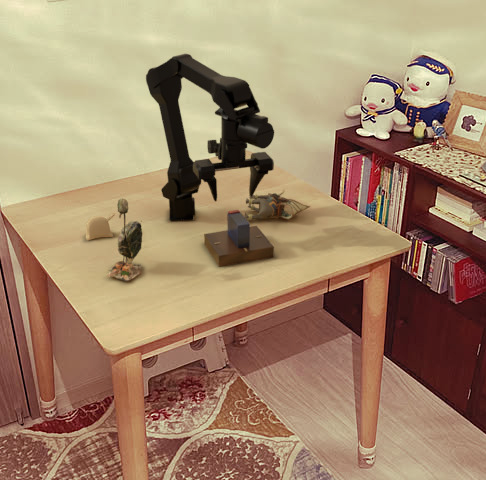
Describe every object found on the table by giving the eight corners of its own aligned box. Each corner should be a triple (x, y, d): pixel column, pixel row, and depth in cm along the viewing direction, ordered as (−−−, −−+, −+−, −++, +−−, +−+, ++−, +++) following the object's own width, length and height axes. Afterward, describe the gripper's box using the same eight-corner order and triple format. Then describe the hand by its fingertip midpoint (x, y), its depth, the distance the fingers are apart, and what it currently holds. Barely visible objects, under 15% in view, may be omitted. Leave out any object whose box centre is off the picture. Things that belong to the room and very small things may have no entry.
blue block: (249, 246, 173) (249, 222, 170) (237, 248, 173) (238, 224, 169) (238, 232, 180) (238, 209, 176) (227, 233, 179) (227, 211, 176)
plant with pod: (156, 266, 173) (150, 188, 161) (124, 286, 165) (117, 206, 154) (130, 256, 177) (123, 180, 165) (98, 276, 169) (89, 198, 158)
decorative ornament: (84, 234, 187) (81, 215, 184) (116, 229, 189) (114, 211, 186) (86, 241, 184) (84, 222, 181) (118, 236, 186) (116, 217, 183)
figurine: (252, 180, 201) (313, 185, 198) (251, 201, 204) (311, 205, 201) (241, 206, 184) (307, 211, 181) (240, 228, 187) (305, 234, 184)
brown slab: (219, 267, 171) (218, 255, 170) (204, 244, 181) (204, 233, 179) (273, 257, 175) (274, 246, 173) (256, 235, 184) (256, 224, 183)
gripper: (259, 121, 176) (257, 180, 184) (186, 129, 171) (187, 190, 180) (275, 136, 167) (273, 198, 176) (198, 146, 162) (200, 208, 171)
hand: (233, 198), depth 176 cm, fingers open, 9 cm apart
